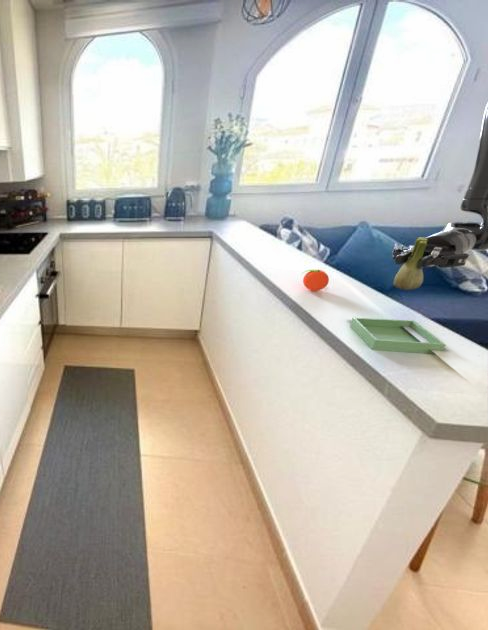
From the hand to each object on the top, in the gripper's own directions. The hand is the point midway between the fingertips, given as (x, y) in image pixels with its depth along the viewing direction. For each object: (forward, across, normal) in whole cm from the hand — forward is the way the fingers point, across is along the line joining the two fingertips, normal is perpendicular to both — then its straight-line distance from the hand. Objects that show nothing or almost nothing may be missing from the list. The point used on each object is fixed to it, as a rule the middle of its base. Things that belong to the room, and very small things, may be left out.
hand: (409, 262), depth 78 cm
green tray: (0, +2, +19) cm, 20 cm away
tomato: (-17, -26, +20) cm, 37 cm away
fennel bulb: (-3, 0, +7) cm, 8 cm away
